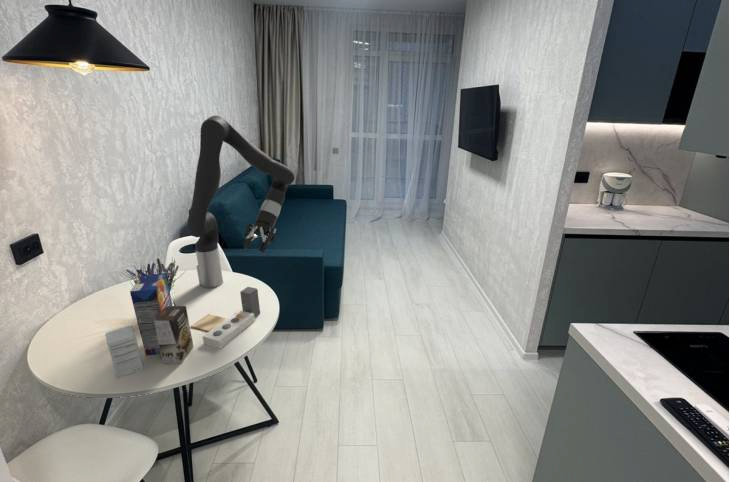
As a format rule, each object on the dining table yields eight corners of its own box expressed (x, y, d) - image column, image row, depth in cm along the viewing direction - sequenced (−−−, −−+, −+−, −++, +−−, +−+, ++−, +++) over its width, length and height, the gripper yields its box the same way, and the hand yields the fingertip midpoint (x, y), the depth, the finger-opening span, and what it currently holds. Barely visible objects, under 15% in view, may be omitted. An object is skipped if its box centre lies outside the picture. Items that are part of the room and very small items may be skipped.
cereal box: (155, 335, 138) (141, 275, 129) (178, 333, 139) (165, 273, 131) (145, 356, 127) (129, 291, 118) (170, 353, 128) (156, 289, 120)
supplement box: (114, 365, 122) (105, 332, 118) (141, 357, 126) (132, 324, 122) (116, 379, 117) (106, 344, 112) (144, 369, 121) (135, 335, 116)
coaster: (191, 327, 143) (190, 325, 142) (208, 315, 150) (208, 314, 150) (209, 332, 139) (209, 331, 139) (226, 319, 147) (226, 318, 147)
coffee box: (182, 363, 123) (173, 320, 117) (162, 363, 123) (152, 320, 117) (194, 346, 132) (186, 305, 126) (176, 346, 132) (167, 305, 126)
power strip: (203, 343, 133) (202, 334, 132) (239, 316, 149) (238, 308, 148) (220, 348, 130) (219, 339, 129) (254, 320, 146) (253, 312, 145)
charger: (240, 319, 147) (236, 294, 144) (251, 311, 153) (247, 286, 149) (249, 321, 146) (246, 296, 142) (260, 313, 152) (257, 288, 148)
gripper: (250, 207, 155) (234, 244, 151) (275, 211, 148) (259, 249, 143) (262, 215, 161) (247, 251, 157) (287, 219, 154) (272, 256, 150)
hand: (253, 250), depth 150 cm, fingers open, 8 cm apart
